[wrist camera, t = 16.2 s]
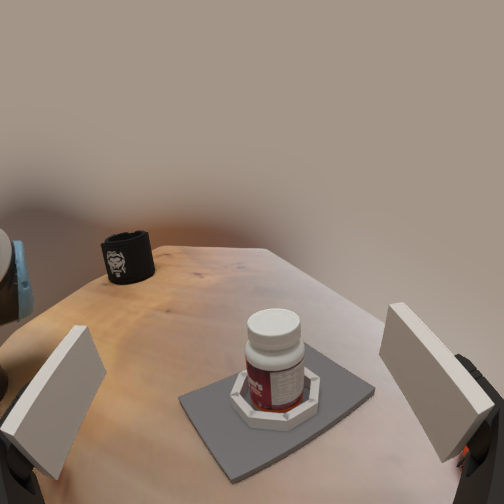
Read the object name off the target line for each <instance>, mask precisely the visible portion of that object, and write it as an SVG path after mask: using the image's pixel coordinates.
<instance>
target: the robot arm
mask: <svg viewBox="0 0 504 504" xmlns="http://www.w3.org/2000/svg"><path fill="white" fill-rule="evenodd" d="M34 310H35V301H34V296H33V291H32V286H31V281H30V276H29V271H28V266H27V261H26V256H25V250H24V246H23V243H22V242H21V241H12V243H11V242H10V240H9V238H8V236H7V234H6V233H5V232H4V231H3V230H1V229H0V327H1V326H4V325H7V324H10V323H13V322H16V321H17V322H20V321H21V320H22V319H24V318H26V317H29V316H31V315H32V314H33V313H34ZM379 355H380V357H381V359H382V360H383V362H384V363H385V365H386V366H387V368H388V370H389V371H390V373H391V375H392V376H393V378H394V379H395V381H396V383H397V384H398V386H399V388H400V389H401V391H402V393H403V394H404V396H405V398H406V399H407V401H408V403H409V405H410V406H411V408H412V410H413V411H414V413H415V415H416V417H417V418H418V420H419V422H420V424H421V425H422V427H423V429H424V431H425V432H426V434H427V436H428V438H429V440H430V441H431V443H432V445H433V447H434V449H435V451H436V453H437V454H438V456H439V458H440V460H441V462H442V463H443V462H445V461H447V460H449V459H451V458H453V457H455V456H457V455H458V454H459V453H460V452H461V451H462V450H463V448H464V447H465V446H467V448H468V449H469V451H468V452H467V453H466V454H465V455H464V456H463V458H462V459H461V460H460V461H459V462H458V464H457V466H456V467H459V466H460V465H461V464H462V463H463V462H464V466H463V467H462V468H463V470H462V474H461V478H460V481H459V485H458V488H457V492H456V495H455V498H454V501H453V504H504V399H503V398H502V397H501V396H500V395H499V394H498V392H497V391H496V390H495V389H494V388H493V386H492V385H491V384H490V383H489V382H488V381H487V379H486V378H485V377H483V376H482V374H481V373H480V371H479V370H477V368H476V367H475V366H474V365H473V364H472V362H471V361H470V360H468V359H467V358H465V357H463V356H461V355H460V354H457V355H455V356H454V355H453V354H452V353H451V352H450V351H449V350H448V349H447V348H446V346H445V345H444V344H443V343H442V342H441V341H440V340H439V339H438V338H437V337H436V335H435V334H434V333H433V332H432V331H431V330H430V329H429V328H428V327H427V326H426V325H425V324H424V323H423V322H422V321H421V320H420V319H419V318H418V317H417V316H416V314H415V313H414V312H413V311H412V310H411V309H410V308H409V307H408V306H407V305H406V304H405V303H404V302H401V303H395V304H390V305H389V307H388V313H387V318H386V323H385V328H384V334H383V338H382V343H381V348H380V352H379ZM106 373H107V372H106V370H105V368H104V365H103V363H102V361H101V359H100V356H99V354H98V351H97V349H96V347H95V344H94V342H93V339H92V337H91V334H90V331H89V329H88V326H77V325H75V326H74V327H73V328H72V329H71V330H70V332H69V333H68V334H67V335H66V337H65V338H64V339H63V340H62V342H61V343H60V344H59V345H58V347H57V348H56V349H55V350H54V352H53V353H52V354H51V356H50V357H49V358H48V360H47V361H46V362H45V363H44V365H43V366H42V367H41V369H40V370H39V372H38V373H37V374H36V376H35V377H34V378H33V380H32V381H31V382H29V383H28V384H26V385H25V386H24V387H23V388H22V389H21V390H20V391H19V393H18V394H17V396H16V399H14V400H13V402H12V403H11V404H12V405H10V406H9V408H8V409H7V411H6V412H5V414H4V415H3V417H2V418H1V420H0V504H45V502H44V499H43V496H42V493H41V490H40V487H39V484H38V480H37V477H36V475H35V473H34V472H33V471H32V470H33V468H34V467H35V468H36V469H38V470H39V471H40V472H41V473H42V474H43V475H45V476H48V477H50V478H52V479H55V480H58V477H59V475H60V472H61V470H62V467H63V465H64V462H65V460H66V458H67V455H68V453H69V451H70V448H71V446H72V444H73V441H74V439H75V437H76V435H77V432H78V430H79V428H80V426H81V424H82V421H83V419H84V417H85V415H86V413H87V411H88V409H89V407H90V405H91V403H92V400H93V398H94V396H95V394H96V392H97V390H98V388H99V386H100V384H101V382H102V380H103V379H104V377H105V375H106ZM7 383H8V380H7V376H6V374H5V372H4V370H3V368H2V367H1V365H0V400H1V398H2V397H3V395H4V393H5V391H6V388H7Z"/></svg>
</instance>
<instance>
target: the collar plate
mask: <svg viewBox="0 0 504 504" xmlns="http://www.w3.org/2000/svg"><path fill="white" fill-rule="evenodd" d="M304 346H305V364H304V390H303V399H302V402H301V404H300V405H299V406H297V407H296V408H294V409H292V410H290V411H289V412H287V413H285V414H284V413H272V412H262V411H258V410H257V409H256V408H255V407H254V406H253V404H252V402H251V397H250V390H249V383H248V375H247V369H246V370H244V371H241V372H239V373H237V374H234V375H232V376H230V377H227V378H225V379H223V380H220V381H218V382H215V383H213V384H210V385H208V386H205V387H203V388H200V389H197V390H195V391H192V392H190V393H187V394H184V395H181V396H179V397H178V398H179V401H180V403H181V405H182V407H183V409H184V410H185V412H186V414H187V416H188V417H189V419H190V421H191V422H192V424H193V426H194V427H195V429H196V431H197V432H198V434H199V435H200V437H201V439H202V440H203V442H204V443H205V445H206V446H207V448H208V450H209V451H210V453H211V454H212V456H213V457H214V459H215V460H216V461H217V463H218V464H219V466H220V467H221V469H222V470H223V471H224V473H225V474H226V476H227V477H228V478H229V480H230V481H231V482H232V484H235V483H237V482H239V481H241V480H243V479H245V478H247V477H249V476H251V475H253V474H255V473H257V472H259V471H261V470H263V469H265V468H267V467H269V466H270V465H272V464H274V463H276V462H278V461H279V460H281V459H283V458H285V457H286V456H288V455H290V454H291V453H293V452H295V451H296V450H298V449H300V448H301V447H303V446H304V445H306V444H307V443H309V442H310V441H312V440H314V439H315V438H317V437H318V436H319V435H321V434H322V433H324V432H325V431H327V430H328V429H330V428H331V427H332V426H334V425H335V424H337V423H338V422H339V421H341V420H342V419H343V418H345V417H346V416H347V415H349V414H350V413H351V412H352V411H354V410H355V409H356V408H358V407H359V406H360V405H361V404H363V403H364V402H365V401H366V400H367V399H369V398H370V397H371V396H372V395H373V394H374V392H375V387H374V386H372V385H370V384H369V383H367V382H365V381H364V380H362V379H360V378H359V377H357V376H356V375H354V374H352V373H351V372H349V371H348V370H346V369H345V368H343V367H341V366H340V365H338V364H337V363H335V362H334V361H332V360H330V359H329V358H327V357H326V356H324V355H323V354H321V353H320V352H318V351H317V350H315V349H314V348H312V347H310V346H309V345H307V344H306V343H304Z"/></svg>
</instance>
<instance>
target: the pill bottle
mask: <svg viewBox="0 0 504 504" xmlns="http://www.w3.org/2000/svg"><path fill="white" fill-rule="evenodd" d="M247 328H248V339H249V340H248V341H247V343H246V346H245V358H246V367H247V375H248V383H249V390H250V397H251V402H252V404H253V406H254V407H255V408H256V409H257V410H258V411H262V412H272V413H284V414H285V413H287V412H289V411H290V410H292V409H294V408H296V407H297V406H299V405H300V404H301V402H302V399H303V390H304V364H305V346H304V342H303V340H302V339H301V330H300V318H299V316H298V315H297V314H296V313H294V312H292V311H290V310H286V309H279V308H273V309H266V310H262V311H259V312H257V313H255V314H253V315H252V316H251V317H250V318H249V319H248V322H247Z"/></svg>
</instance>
